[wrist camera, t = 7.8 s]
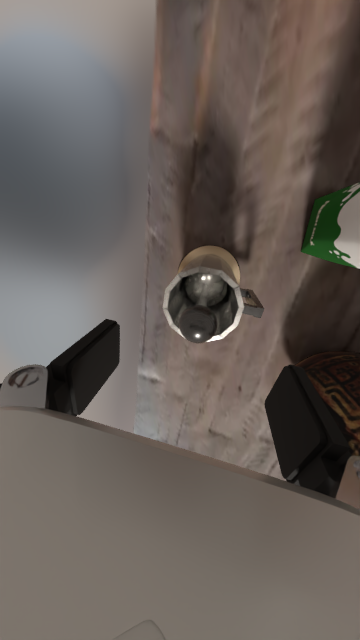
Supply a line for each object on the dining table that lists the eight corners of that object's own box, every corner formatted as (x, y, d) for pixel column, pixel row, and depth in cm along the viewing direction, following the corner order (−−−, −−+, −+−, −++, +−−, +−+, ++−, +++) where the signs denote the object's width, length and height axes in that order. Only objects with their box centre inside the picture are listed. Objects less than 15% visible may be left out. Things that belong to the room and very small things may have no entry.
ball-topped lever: (190, 261, 27) (163, 287, 13) (232, 269, 26) (248, 306, 13) (183, 300, 30) (155, 354, 16) (220, 308, 29) (224, 372, 16)
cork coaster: (183, 239, 31) (183, 240, 31) (248, 252, 30) (249, 252, 30) (173, 300, 36) (173, 300, 36) (229, 312, 35) (229, 313, 35)
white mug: (189, 249, 31) (169, 259, 18) (255, 262, 30) (284, 283, 17) (180, 296, 35) (159, 332, 22) (239, 309, 34) (253, 355, 21)
